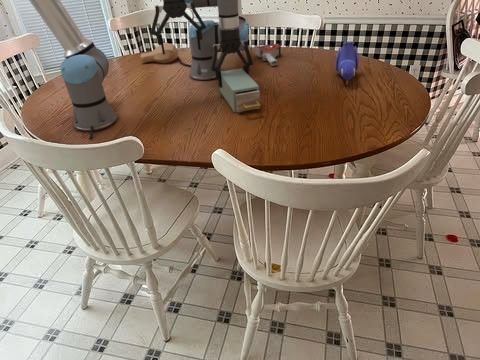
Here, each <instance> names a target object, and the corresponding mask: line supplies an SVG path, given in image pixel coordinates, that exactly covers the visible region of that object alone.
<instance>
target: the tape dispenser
mask: <svg viewBox="0 0 480 360" xmlns="http://www.w3.org/2000/svg"><path fill="white" fill-rule="evenodd" d="M268 47H270V48H268ZM254 49H255V51H254V52H255V56H257V57H258V58H261V59H262V61H263V62H268V63H269V65H270V66H271V67H274V66H277V65H278V63H279V61H278V59H276V57H280V56H281V54H282V46H281V44H279V43H271V44H265V45H260V46H259V45H258V46H257V45H256V46H254Z"/></svg>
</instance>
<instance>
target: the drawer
mask: <svg viewBox="0 0 480 360" xmlns="http://www.w3.org/2000/svg"><path fill="white" fill-rule="evenodd" d="M236 105H237V112H236V113H242V112H246V111H252V110H258V109H261V108H262V104H261V91H260V89H259V90H258V91H255V90H248V91H243V92H237V93H236Z"/></svg>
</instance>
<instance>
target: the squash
mask: <svg viewBox="0 0 480 360" xmlns="http://www.w3.org/2000/svg"><path fill="white" fill-rule="evenodd" d="M163 45H164V51H165V54H163V52H162V46H161V45H158V46H155V47H156V48H154V49H153V50H151V51H150V52H144V53H141V54H140V61H141V62H142V64H146V63H149V62H157V63H160V64H170V63H172V62H173V61H175V60H176V59H177V58H178V57H179V56H178V55H179V51H178V49H177V47H176V45H175V44H173V43H168V42H163Z"/></svg>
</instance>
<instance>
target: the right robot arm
mask: <svg viewBox="0 0 480 360" xmlns="http://www.w3.org/2000/svg"><path fill="white" fill-rule="evenodd" d="M191 1H192V2H193V3H194V6H195V9H198V8H214V7H216V8H217V12H218V23H215V21H214V20H212V19H210V20H208V19H207V20H202V21H203V22H204V24H205V26H206V28H205V29H203V30H202V40H200V47H201V50H199V49H198V43H197V35H196V30H197V29H196V28H195V27H194V26H193V25H192V24H191V25H190V26H189V27H188V39H189V45H190V53H191V64H188V63H185V62H183V61H182V59H181V58H180V57H179V56H178V58H176V59H177V60H178V62H179V63H180V64H181V65H183V66H186V67H190V69H189V76H190V78H191V79H192V80H195V81H211V80H217V81H218V87H219V89H220V88H222V79H221V71H223V68H222V65H223V63H224V61H225V58H226V57H227V56H228V55H230V54H237V56H238V57H239V59H240V60H241V62H242V63H243V66H242V69H243V70H244V71H245V72H246V73H247V74H248V75H249V74H250V67H251V66H253V65H254V61H253V58H252V56H251V52H250V49H249V29H250V23H249V22H246V17H245V16H244V15H243V13H242V12H243V10H242V9H243V8H242V7H243V6H242V0H185V3H190V2H191ZM186 9H189V7H187V8H186ZM196 23H197V24H198V25H199V26H201V24H200V22H199V21H198V22H196ZM156 47H157V46H155V45H154V44H153V45H152V48H154V49H155V48H156ZM242 51H244V53H245V56H246V58H247V60H246V58H245V56H244V55H243V54H242ZM218 53H220V56H219V58H218ZM249 76H250V75H249Z"/></svg>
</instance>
